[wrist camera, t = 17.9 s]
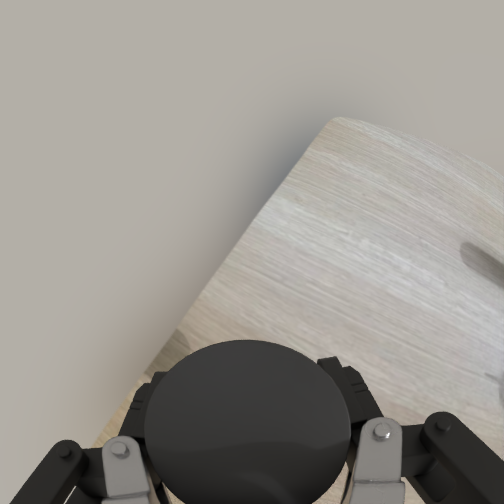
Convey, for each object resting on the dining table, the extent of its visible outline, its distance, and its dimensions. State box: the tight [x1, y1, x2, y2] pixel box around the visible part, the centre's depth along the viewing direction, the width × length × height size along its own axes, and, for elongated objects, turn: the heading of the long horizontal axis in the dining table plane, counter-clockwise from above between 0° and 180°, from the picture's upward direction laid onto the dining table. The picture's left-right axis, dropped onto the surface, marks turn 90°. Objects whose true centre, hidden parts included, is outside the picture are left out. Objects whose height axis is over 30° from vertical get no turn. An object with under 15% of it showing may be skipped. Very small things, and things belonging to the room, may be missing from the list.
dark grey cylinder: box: [144, 340, 351, 504], centre depth 10 cm, size 6×6×10 cm
